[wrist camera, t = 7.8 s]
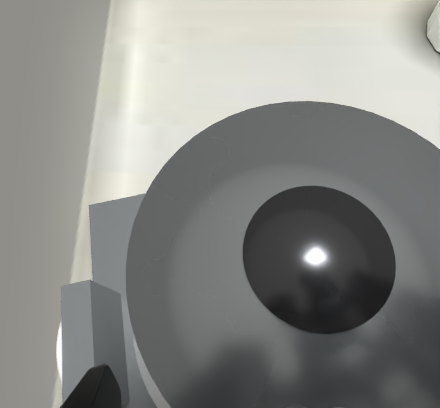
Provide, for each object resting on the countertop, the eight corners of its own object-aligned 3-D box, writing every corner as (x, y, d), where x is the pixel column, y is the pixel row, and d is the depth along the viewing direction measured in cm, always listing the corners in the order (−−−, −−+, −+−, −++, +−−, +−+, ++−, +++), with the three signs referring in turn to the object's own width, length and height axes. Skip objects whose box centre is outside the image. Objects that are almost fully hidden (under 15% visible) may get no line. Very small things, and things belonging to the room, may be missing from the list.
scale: (417, 465, 16) (521, 532, 10) (122, 540, 15) (55, 656, 9) (311, 174, 22) (337, 114, 16) (100, 217, 21) (52, 171, 16)
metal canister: (334, 336, 16) (627, 308, 4) (244, 406, 15) (283, 641, 3) (268, 247, 17) (335, 52, 6) (183, 304, 16) (62, 206, 5)
